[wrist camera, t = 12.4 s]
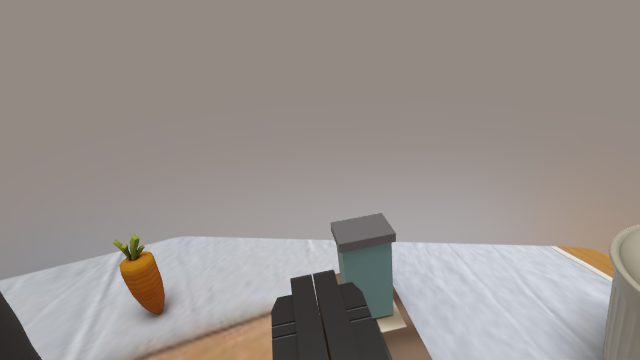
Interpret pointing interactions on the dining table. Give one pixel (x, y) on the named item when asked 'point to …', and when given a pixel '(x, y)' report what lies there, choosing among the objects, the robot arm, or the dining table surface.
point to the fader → (367, 259)
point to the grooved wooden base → (399, 333)
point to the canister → (624, 298)
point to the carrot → (142, 276)
